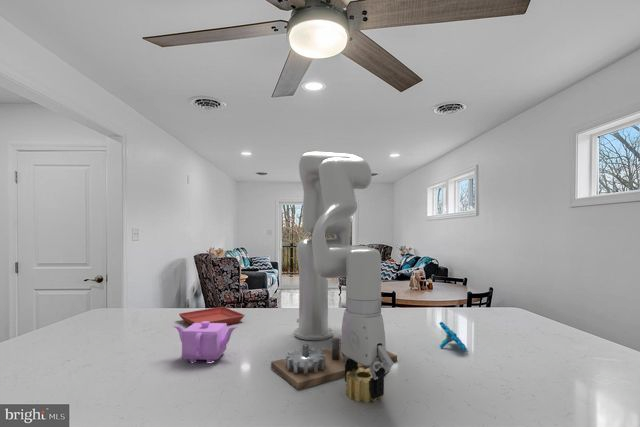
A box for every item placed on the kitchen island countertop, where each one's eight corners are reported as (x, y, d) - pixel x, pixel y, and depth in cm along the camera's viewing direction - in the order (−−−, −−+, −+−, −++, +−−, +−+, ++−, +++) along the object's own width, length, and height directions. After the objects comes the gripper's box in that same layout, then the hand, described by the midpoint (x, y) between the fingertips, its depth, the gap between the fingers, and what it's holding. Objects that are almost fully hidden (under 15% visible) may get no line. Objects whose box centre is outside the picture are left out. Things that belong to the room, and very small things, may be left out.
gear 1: (279, 363, 87) (279, 343, 88) (312, 355, 93) (312, 336, 93) (298, 377, 79) (298, 355, 79) (333, 368, 84) (333, 347, 85)
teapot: (244, 349, 102) (245, 315, 102) (231, 367, 89) (231, 328, 89) (183, 348, 102) (184, 314, 103) (161, 366, 89) (162, 327, 90)
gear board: (298, 389, 77) (298, 359, 77) (271, 367, 89) (271, 341, 89) (397, 361, 93) (397, 336, 93) (363, 345, 105) (363, 323, 105)
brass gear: (339, 391, 76) (339, 372, 76) (365, 382, 80) (365, 365, 80) (361, 406, 70) (361, 385, 70) (388, 396, 74) (388, 377, 74)
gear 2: (470, 351, 96) (442, 322, 99) (453, 365, 97) (427, 335, 100) (467, 344, 106) (442, 317, 110) (453, 356, 107) (428, 330, 110)
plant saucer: (222, 314, 143) (222, 305, 143) (245, 323, 130) (245, 314, 130) (177, 322, 131) (177, 313, 131) (198, 333, 117) (198, 323, 117)
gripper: (326, 300, 81) (326, 377, 80) (377, 317, 66) (378, 411, 66) (352, 296, 85) (352, 370, 84) (405, 311, 70) (406, 401, 70)
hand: (363, 388), depth 75 cm, fingers open, 7 cm apart
